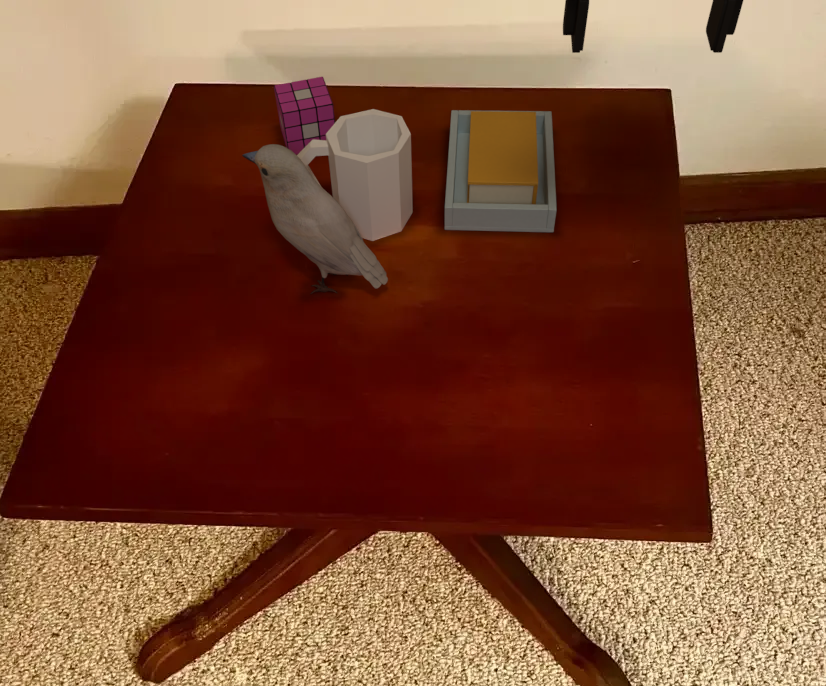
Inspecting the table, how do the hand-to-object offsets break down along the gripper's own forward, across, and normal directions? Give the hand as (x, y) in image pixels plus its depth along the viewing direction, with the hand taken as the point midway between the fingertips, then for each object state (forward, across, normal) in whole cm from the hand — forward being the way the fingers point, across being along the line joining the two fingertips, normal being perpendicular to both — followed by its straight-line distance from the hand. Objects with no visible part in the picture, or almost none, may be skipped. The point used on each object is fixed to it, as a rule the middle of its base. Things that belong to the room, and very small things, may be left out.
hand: (644, 42), depth 63 cm
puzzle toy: (+26, -31, +24) cm, 47 cm away
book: (+25, -9, +17) cm, 32 cm away
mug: (+26, -24, +11) cm, 37 cm away
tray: (+26, -9, +17) cm, 32 cm away
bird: (+26, -26, +1) cm, 37 cm away
